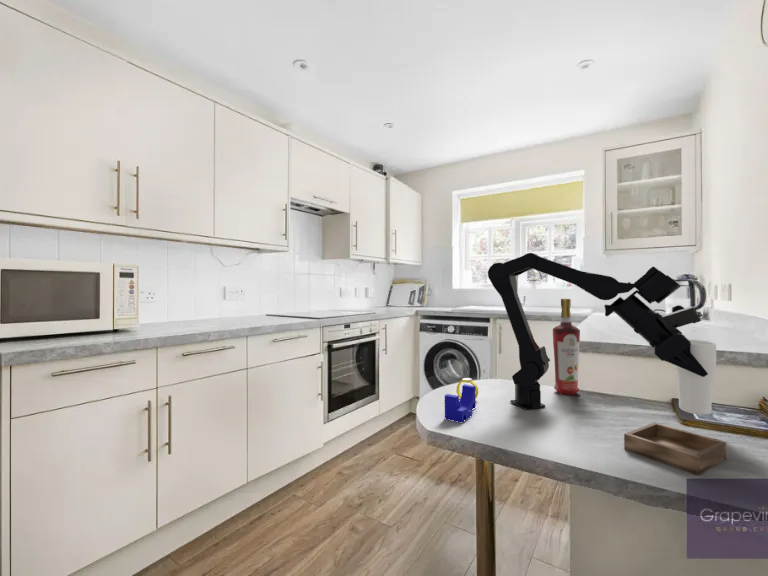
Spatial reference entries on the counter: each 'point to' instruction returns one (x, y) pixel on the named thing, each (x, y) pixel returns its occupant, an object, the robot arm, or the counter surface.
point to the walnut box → (676, 447)
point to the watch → (467, 382)
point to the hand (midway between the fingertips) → (703, 372)
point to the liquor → (566, 352)
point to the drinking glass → (698, 380)
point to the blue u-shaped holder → (460, 404)
